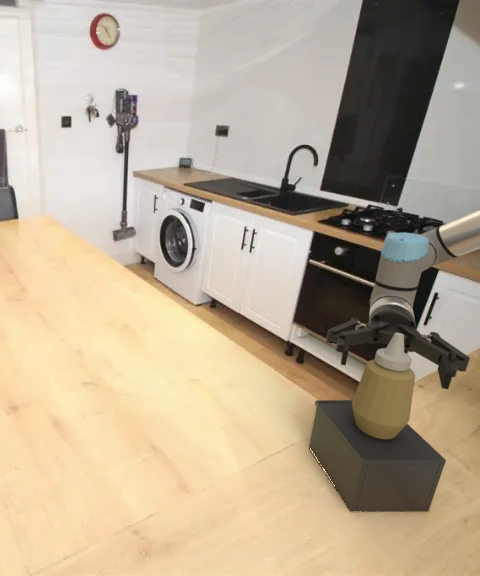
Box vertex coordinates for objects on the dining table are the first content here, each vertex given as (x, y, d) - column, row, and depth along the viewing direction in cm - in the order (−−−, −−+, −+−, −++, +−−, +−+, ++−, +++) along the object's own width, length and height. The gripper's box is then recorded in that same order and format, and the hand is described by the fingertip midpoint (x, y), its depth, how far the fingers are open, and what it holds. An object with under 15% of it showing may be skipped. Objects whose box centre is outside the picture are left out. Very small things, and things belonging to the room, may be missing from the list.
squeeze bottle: (362, 408, 75) (383, 319, 69) (413, 432, 69) (441, 337, 63) (338, 424, 71) (358, 331, 65) (389, 452, 65) (417, 352, 59)
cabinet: (308, 448, 81) (317, 403, 77) (373, 447, 80) (385, 402, 77) (350, 511, 67) (363, 460, 63) (428, 511, 67) (446, 460, 63)
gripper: (467, 353, 77) (489, 414, 61) (318, 324, 90) (304, 368, 74) (478, 317, 75) (505, 370, 58) (324, 292, 88) (310, 330, 71)
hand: (393, 369), depth 66 cm, fingers open, 13 cm apart
